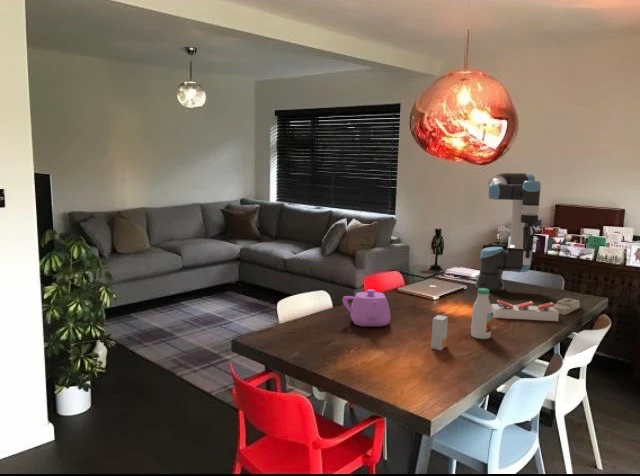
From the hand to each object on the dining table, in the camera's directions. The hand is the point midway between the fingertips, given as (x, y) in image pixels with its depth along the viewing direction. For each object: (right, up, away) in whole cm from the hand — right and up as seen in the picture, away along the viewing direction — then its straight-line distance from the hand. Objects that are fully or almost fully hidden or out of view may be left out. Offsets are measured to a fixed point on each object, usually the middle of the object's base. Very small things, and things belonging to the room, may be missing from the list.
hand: (526, 264), depth 247 cm
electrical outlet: (+23, -23, +10) cm, 34 cm away
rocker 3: (+7, -19, -5) cm, 21 cm away
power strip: (-5, -24, -1) cm, 25 cm away
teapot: (-74, -26, -14) cm, 80 cm away
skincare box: (-50, -30, -42) cm, 72 cm away
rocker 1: (-11, -18, -3) cm, 21 cm away
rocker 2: (-2, -18, -4) cm, 19 cm away
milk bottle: (-30, -28, -29) cm, 51 cm away
